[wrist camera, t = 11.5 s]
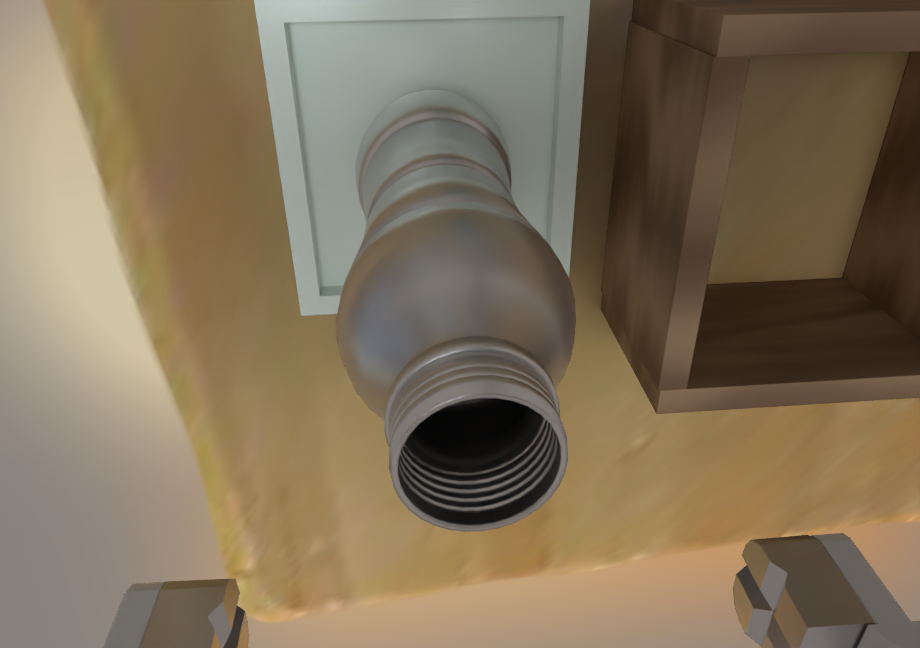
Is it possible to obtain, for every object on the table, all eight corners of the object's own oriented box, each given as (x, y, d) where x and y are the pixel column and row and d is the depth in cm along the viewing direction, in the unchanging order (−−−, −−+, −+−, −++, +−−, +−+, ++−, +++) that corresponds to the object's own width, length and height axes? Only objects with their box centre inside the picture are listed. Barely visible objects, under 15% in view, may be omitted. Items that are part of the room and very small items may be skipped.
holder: (632, -10, 29) (720, 15, 21) (957, -17, 30) (1156, 5, 22) (599, 310, 37) (654, 414, 29) (857, 296, 37) (977, 393, 30)
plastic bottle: (516, 90, 29) (690, 337, 12) (486, 235, 33) (591, 586, 16) (365, 66, 28) (327, 297, 11) (351, 217, 32) (304, 574, 15)
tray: (262, -10, 28) (253, -6, 26) (579, -17, 28) (591, -13, 27) (305, 296, 35) (301, 315, 33) (558, 283, 36) (567, 302, 34)
